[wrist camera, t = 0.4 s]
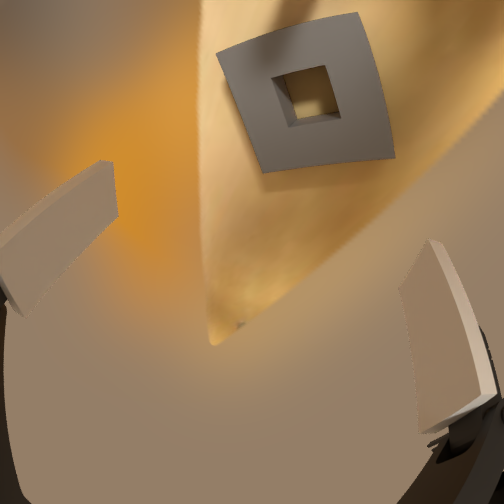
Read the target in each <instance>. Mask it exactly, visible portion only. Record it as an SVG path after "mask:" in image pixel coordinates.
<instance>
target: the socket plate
mask: <svg viewBox="0 0 504 504" xmlns="http://www.w3.org/2000/svg"><path fill="white" fill-rule="evenodd" d="M216 56H217V58H218V60H219V63H220V65H221V68H222V70H223V72H224V75H225V77H226V80H227V82H228V85H229V87H230V89H231V92H232V94H233V97H234V99H235V102H236V104H237V107H238V109H239V112H240V114H241V117H242V120H243V122H244V125H245V127H246V130H247V132H248V135H249V138H250V140H251V143H252V146H253V148H254V151H255V154H256V156H257V159H258V162H259V164H260V167H261V170H262V172H263V173H269V172H275V171H282V170H289V169H296V168H303V167H311V166H319V165H327V164H336V163H346V162H356V161H367V160H380V159H394V158H395V151H394V145H393V139H392V133H391V127H390V122H389V117H388V112H387V107H386V103H385V98H384V94H383V90H382V86H381V82H380V78H379V75H378V71H377V67H376V64H375V60H374V57H373V54H372V51H371V48H370V45H369V42H368V39H367V36H366V33H365V30H364V27H363V25H362V22H361V19H360V17H359V14H358V12H354V13H348V14H342V15H337V16H332V17H327V18H322V19H317V20H313V21H309V22H305V23H301V24H297V25H294V26H290V27H287V28H283V29H280V30H277V31H274V32H270V33H267V34H264V35H262V36H259V37H256V38H253V39H250V40H248V41H245V42H242V43H240V44H237V45H235V46H232V47H230V48H227V49H225V50H223V51H220V52H218V53H216ZM322 65H325V66H326V69H327V72H328V75H329V78H330V82H331V85H332V88H333V91H334V95H335V98H336V102H337V105H338V109H339V112H336V113H330V114H323V115H318V116H312V117H306V118H301V119H297V117H296V114H295V111H294V108H293V105H292V102H291V99H290V96H289V93H288V90H287V87H286V85H285V82H284V79H283V76H282V75H284V74H288V73H291V72H295V71H300V70H304V69H308V68H313V67H317V66H322Z"/></svg>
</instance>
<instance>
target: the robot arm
mask: <svg viewBox="0 0 504 504" xmlns="http://www.w3.org/2000/svg"><path fill="white" fill-rule="evenodd" d="M117 217H118V208H117V200H116V190H115V180H114V168H113V162H110V161H101V160H100V161H98V162H96V163H95V164H93V165H91V166H90V167H88V168H87V169H85V170H83V171H82V172H80V173H79V174H77V175H76V176H74V177H73V178H71V179H70V180H68V181H67V182H66V183H64V184H62V185H61V186H59V187H58V188H57V189H55V190H54V191H52V192H51V193H50V194H48V195H47V196H45V197H44V198H43V199H41V200H40V201H39V202H37V203H36V204H35V205H34V206H32V207H31V208H30V209H29V210H27V211H26V212H25V213H24V214H22V215H21V216H20V217H19V218H17V219H16V220H15V221H14V222H13V223H12V224H11V225H9V226H8V227H7V228H6V229H5V230H4V231H3V232H1V233H0V504H31V503H30V502H29V501H28V500H27V499H26V498H25V497H24V496H23V494H22V492H21V489H20V486H19V482H18V478H17V474H16V470H15V466H14V462H13V458H12V452H11V448H10V442H9V435H8V429H7V421H6V411H5V400H4V376H3V362H4V361H3V360H4V359H3V358H4V337H5V325H6V315H7V309H6V306H5V305H4V303H5V301H6V300H7V299H8V301H9V303H10V305H11V306H12V308H13V309H14V311H15V312H17V313H18V314H20V315H21V316H22V317H24V318H27V317H28V315H29V314H30V313H31V311H32V310H33V309H34V307H35V306H36V305H37V303H38V302H39V301H40V300H41V299H42V297H43V296H44V295H45V294H46V293H47V291H48V290H49V289H50V288H51V287H52V285H53V284H54V283H55V282H56V281H57V280H58V278H59V277H60V276H61V275H62V274H63V273H64V272H65V271H66V269H67V268H68V267H69V266H70V265H71V264H72V263H73V262H74V261H75V259H76V258H77V257H78V256H79V255H80V254H81V253H82V252H83V251H84V250H85V249H86V248H87V247H88V246H89V245H90V244H91V243H92V242H93V241H94V240H95V239H96V238H97V237H98V236H99V235H100V234H101V233H102V232H103V231H104V230H105V229H106V228H107V227H108V226H109V225H110V224H111V223H112V222H113V221H114V220H115V219H116V218H117ZM399 292H400V297H401V301H402V306H403V310H404V315H405V320H406V325H407V331H408V336H409V342H410V348H411V355H412V362H413V370H414V377H415V387H416V398H417V411H418V432H419V434H427V433H437V432H438V431H440V430H442V429H444V428H446V427H447V426H448V427H449V433H447V434H445V435H444V436H442V437H440V438H438V439H436V440H434V441H432V442H430V443H429V444H428V445H427V447H428V448H429V447H431V446H433V445H436V444H438V443H439V444H438V446H437V447H435V448H433V449H432V451H433V454H432V456H431V457H430V459H429V461H428V462H427V463H426V465H425V466H424V468H423V469H422V471H421V472H420V474H419V475H418V476H417V478H416V479H415V481H414V482H413V483H412V485H411V486H410V488H409V489H408V490H407V491H406V493H405V494H404V495H403V496H402V498H401V499H400V500H399V501H398V503H397V504H504V471H503V469H504V398H503V399H502V397H501V393H500V388H499V384H498V379H497V375H496V371H495V367H494V364H493V360H491V358H492V357H491V353H490V350H488V348H489V347H488V343H487V340H486V337H485V334H484V333H483V331H482V329H481V328H480V326H479V325H478V323H477V321H476V318H475V315H474V313H473V310H472V307H471V305H470V302H469V300H468V298H467V295H466V293H465V290H464V288H463V286H462V283H461V281H460V279H459V277H458V275H457V272H456V270H455V268H454V266H453V264H452V262H451V260H450V258H449V256H448V254H447V252H446V250H445V248H444V246H443V244H442V243H440V242H437V241H435V240H432V239H429V238H428V239H427V241H426V242H425V244H424V246H423V248H422V249H421V251H420V253H419V255H418V256H417V258H416V260H415V262H414V263H413V265H412V267H411V268H410V270H409V272H408V273H407V275H406V277H405V278H404V280H403V281H402V283H401V285H400V286H399Z"/></svg>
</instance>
